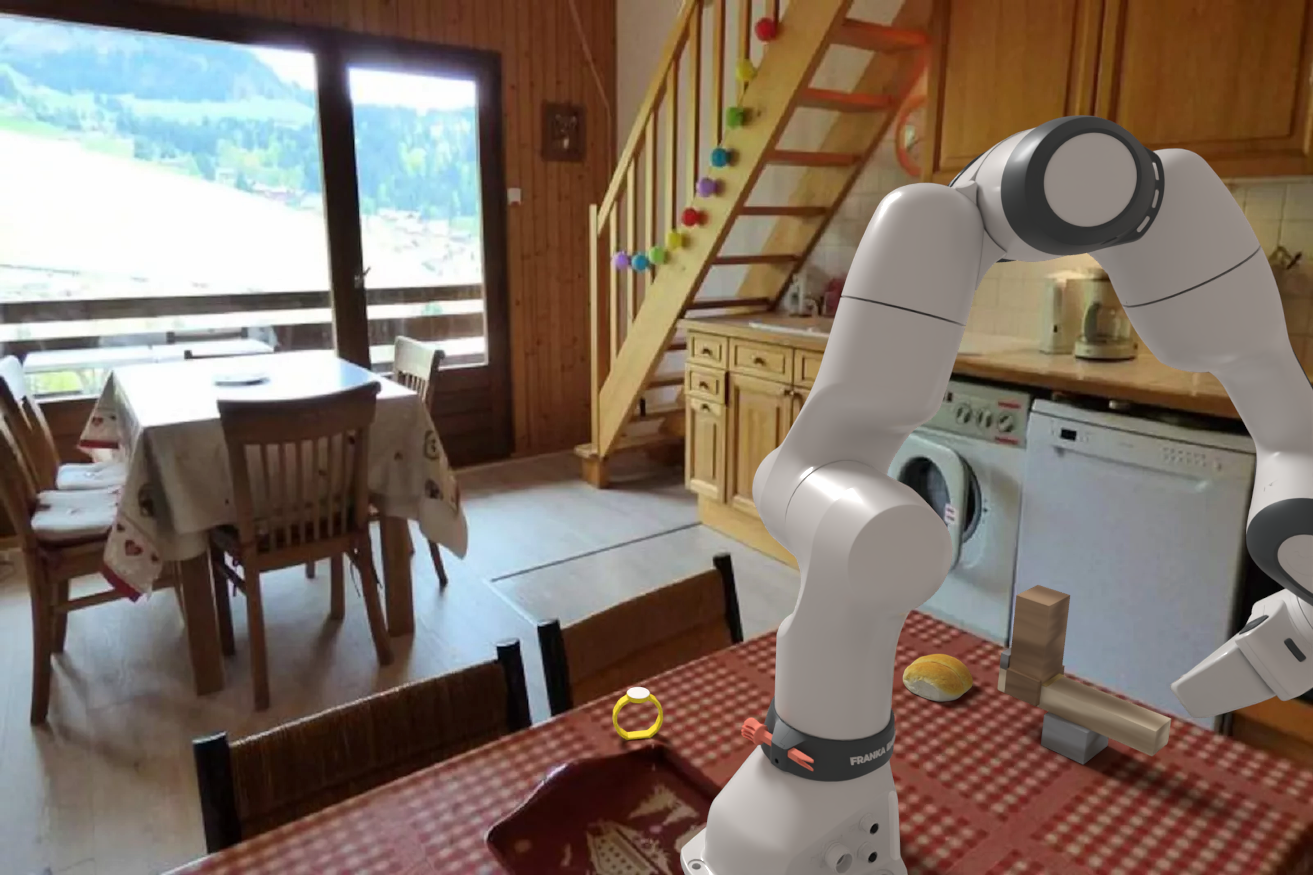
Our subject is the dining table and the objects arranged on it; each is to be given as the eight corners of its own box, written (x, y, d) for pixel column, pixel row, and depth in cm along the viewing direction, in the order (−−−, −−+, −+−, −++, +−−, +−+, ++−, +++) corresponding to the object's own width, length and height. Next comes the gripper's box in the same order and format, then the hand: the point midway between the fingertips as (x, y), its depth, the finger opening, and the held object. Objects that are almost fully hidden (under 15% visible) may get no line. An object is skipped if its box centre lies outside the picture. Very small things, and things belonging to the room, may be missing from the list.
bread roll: (980, 684, 116) (982, 657, 115) (951, 710, 109) (953, 682, 108) (922, 664, 121) (924, 638, 120) (892, 687, 115) (893, 660, 114)
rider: (1035, 706, 101) (1046, 607, 98) (1004, 693, 104) (1013, 596, 101) (1061, 689, 105) (1072, 593, 102) (1030, 677, 108) (1040, 583, 105)
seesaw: (1143, 792, 93) (1154, 717, 91) (990, 721, 106) (996, 655, 104) (1166, 771, 96) (1177, 699, 94) (1016, 705, 110) (1022, 641, 108)
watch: (659, 729, 105) (662, 685, 104) (662, 742, 103) (666, 697, 102) (610, 731, 104) (613, 686, 103) (613, 744, 102) (616, 698, 100)
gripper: (1313, 580, 89) (1197, 634, 99) (1241, 637, 77) (1116, 692, 86) (1359, 634, 87) (1235, 684, 96) (1293, 702, 74) (1158, 752, 84)
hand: (1178, 688), depth 91 cm, fingers closed
